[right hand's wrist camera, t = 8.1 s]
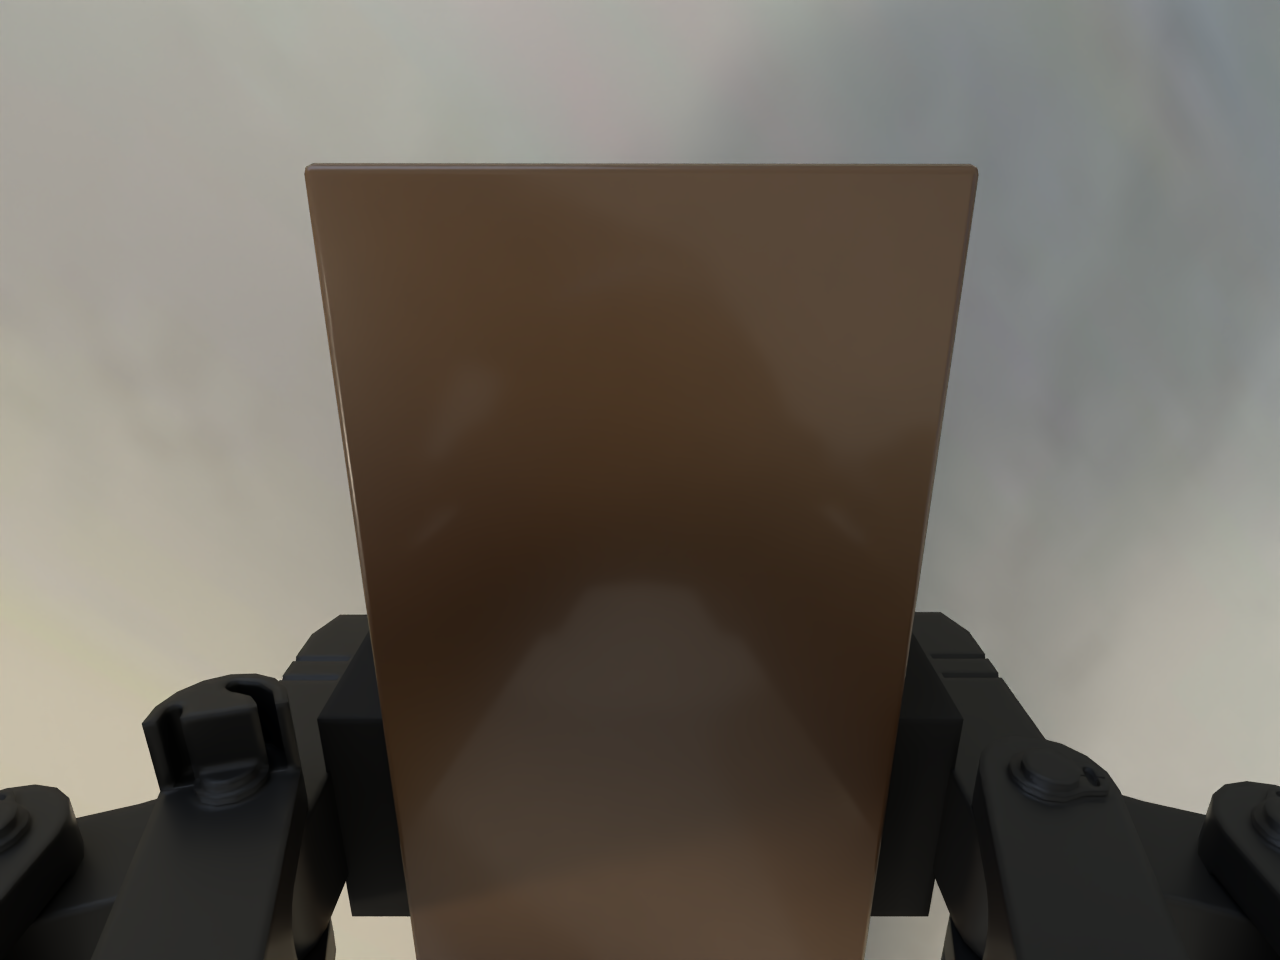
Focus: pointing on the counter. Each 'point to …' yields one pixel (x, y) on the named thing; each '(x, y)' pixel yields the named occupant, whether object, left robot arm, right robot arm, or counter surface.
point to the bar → (640, 534)
